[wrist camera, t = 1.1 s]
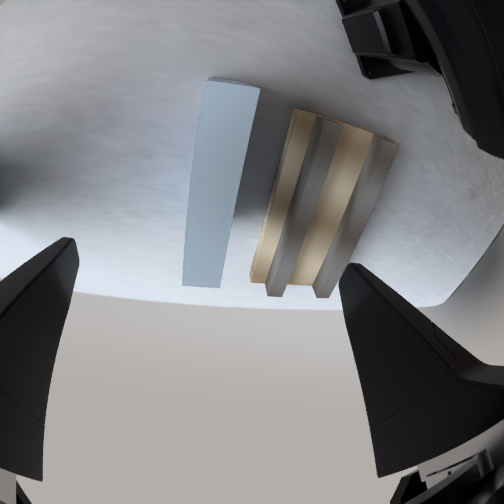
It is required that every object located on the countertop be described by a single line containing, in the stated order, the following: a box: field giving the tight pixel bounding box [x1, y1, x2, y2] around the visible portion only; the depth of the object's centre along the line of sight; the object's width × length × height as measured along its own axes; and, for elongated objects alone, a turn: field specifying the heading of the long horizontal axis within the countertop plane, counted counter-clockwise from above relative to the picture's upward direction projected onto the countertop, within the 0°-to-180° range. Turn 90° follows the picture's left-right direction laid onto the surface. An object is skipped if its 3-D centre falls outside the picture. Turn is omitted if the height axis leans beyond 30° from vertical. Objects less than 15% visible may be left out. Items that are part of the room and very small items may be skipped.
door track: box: [250, 108, 398, 298], centre depth 19 cm, size 14×8×2 cm, turn 168°
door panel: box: [182, 77, 260, 288], centre depth 14 cm, size 10×2×7 cm, turn 168°
